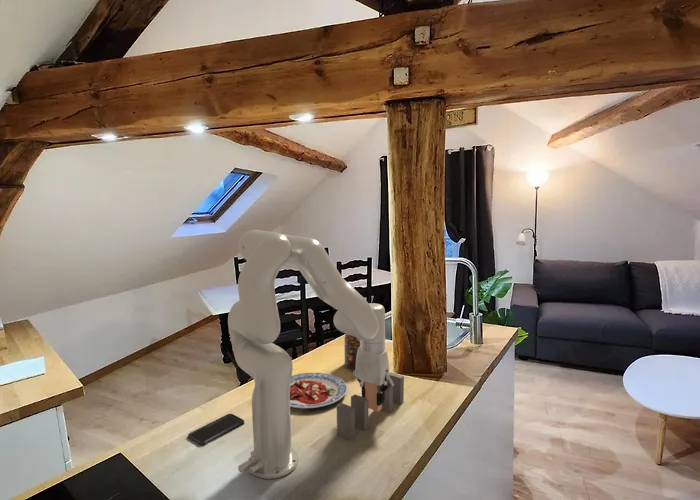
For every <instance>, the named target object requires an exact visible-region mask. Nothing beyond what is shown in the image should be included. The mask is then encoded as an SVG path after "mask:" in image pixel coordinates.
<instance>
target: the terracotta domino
mask: <svg viewBox="0 0 700 500" xmlns="http://www.w3.org/2000/svg"><path fill="white" fill-rule="evenodd" d="M381 388H382V385H381ZM377 393H378V389H377V385H374V384H371V383H368V382H365V398H367V399H368V410H369V409H370V410H373V411H375V412H380V411H381V410H382V404H381V405H380V406H378V405H377Z"/></svg>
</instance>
